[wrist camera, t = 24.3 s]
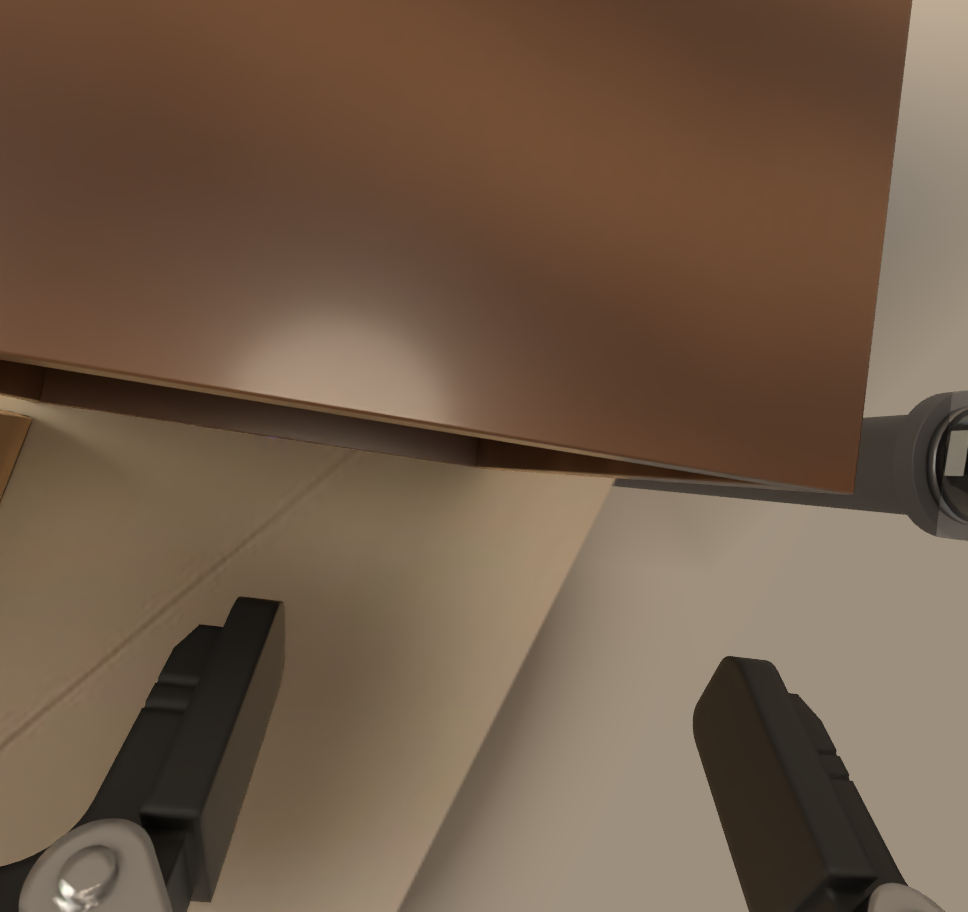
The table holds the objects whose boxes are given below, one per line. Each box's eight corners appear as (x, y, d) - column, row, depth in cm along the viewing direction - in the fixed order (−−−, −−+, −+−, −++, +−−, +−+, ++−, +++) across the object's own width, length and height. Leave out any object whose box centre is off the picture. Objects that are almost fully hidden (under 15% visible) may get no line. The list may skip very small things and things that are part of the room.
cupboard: (487, 469, 37) (854, 494, 12) (25, 400, 31) (-1270, 144, 6) (528, 177, 38) (958, -377, 13) (87, 50, 31) (-811, -1571, 6)
